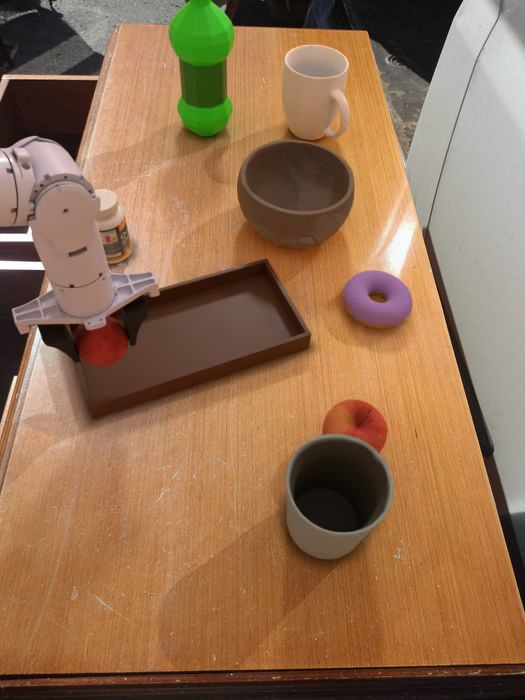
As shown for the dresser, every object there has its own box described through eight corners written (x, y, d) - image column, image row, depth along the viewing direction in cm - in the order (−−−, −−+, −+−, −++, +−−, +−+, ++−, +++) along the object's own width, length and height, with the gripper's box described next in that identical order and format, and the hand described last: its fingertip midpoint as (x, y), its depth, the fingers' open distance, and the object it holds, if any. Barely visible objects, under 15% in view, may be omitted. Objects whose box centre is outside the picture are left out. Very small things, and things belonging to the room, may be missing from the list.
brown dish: (92, 420, 68) (87, 407, 66) (66, 329, 76) (61, 315, 73) (309, 347, 76) (311, 334, 73) (265, 272, 83) (266, 257, 81)
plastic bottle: (214, 151, 99) (209, -1, 79) (166, 131, 102) (149, -21, 82) (244, 124, 104) (247, -25, 84) (198, 106, 107) (190, -44, 87)
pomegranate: (85, 384, 64) (68, 344, 58) (80, 344, 67) (64, 302, 61) (135, 374, 65) (124, 333, 59) (129, 335, 68) (118, 293, 62)
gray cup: (385, 519, 63) (414, 478, 53) (330, 590, 58) (351, 560, 48) (315, 462, 66) (330, 413, 56) (258, 524, 62) (263, 484, 52)
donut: (421, 299, 81) (427, 281, 77) (390, 348, 78) (395, 332, 74) (361, 269, 84) (364, 250, 80) (329, 315, 81) (330, 298, 77)
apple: (305, 442, 68) (313, 411, 61) (348, 409, 70) (359, 375, 64) (348, 487, 65) (361, 459, 58) (390, 451, 67) (407, 420, 61)
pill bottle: (136, 259, 84) (125, 208, 75) (98, 269, 82) (83, 217, 74) (127, 234, 87) (115, 182, 78) (90, 243, 85) (74, 191, 77)
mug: (363, 146, 102) (378, 77, 92) (316, 166, 98) (327, 97, 88) (312, 106, 109) (321, 38, 98) (267, 124, 105) (271, 54, 94)
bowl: (330, 276, 83) (341, 226, 75) (219, 245, 86) (218, 193, 78) (357, 204, 93) (369, 152, 85) (256, 178, 96) (258, 126, 87)
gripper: (4, 318, 49) (46, 395, 60) (162, 274, 53) (174, 355, 64) (-8, 263, 53) (34, 345, 64) (141, 226, 57) (156, 310, 68)
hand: (103, 347), depth 64 cm, fingers closed on pomegranate, 6 cm apart
